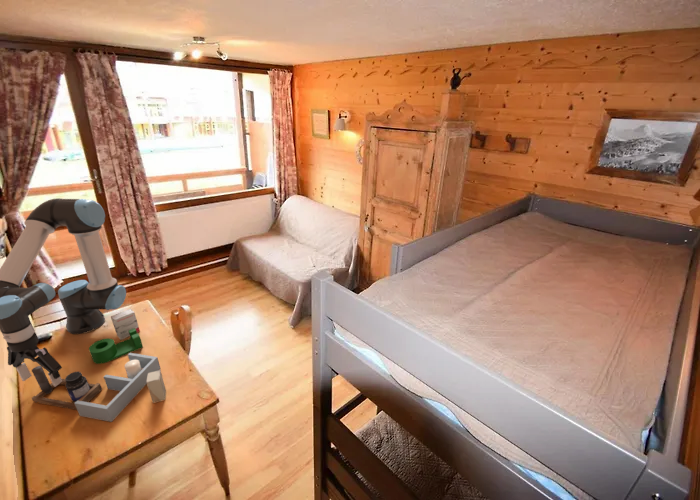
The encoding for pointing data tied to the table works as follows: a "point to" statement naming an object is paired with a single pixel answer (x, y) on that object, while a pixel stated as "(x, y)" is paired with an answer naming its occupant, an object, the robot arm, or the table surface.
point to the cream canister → (132, 368)
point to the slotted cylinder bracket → (114, 348)
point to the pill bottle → (76, 386)
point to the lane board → (126, 388)
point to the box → (156, 386)
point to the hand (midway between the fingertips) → (42, 381)
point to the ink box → (124, 323)
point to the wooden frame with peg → (48, 387)
